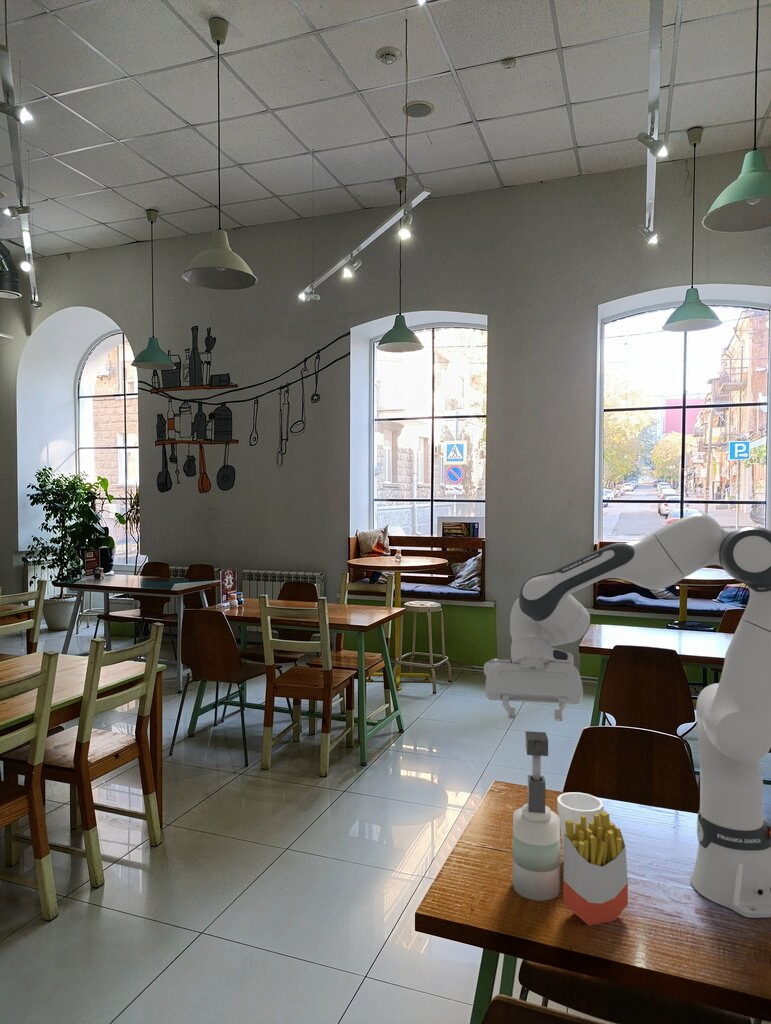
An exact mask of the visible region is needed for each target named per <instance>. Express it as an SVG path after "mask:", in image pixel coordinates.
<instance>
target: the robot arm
mask: <svg viewBox="0 0 771 1024" xmlns="http://www.w3.org/2000/svg"><path fill="white" fill-rule="evenodd" d="M707 566H719V568H722V569H723V570H724V571H725V572H726V573H727V574H728V575H729V576H730V577H731V578H733V579H735V580H736V581H739V582H741V583H743V584H744V585H745V586H747V588H748V590H749V591H748V592H749V597H748V602H747V605H746V606H745V609H744V611H743V614H742V615H741V617H740V621H739V622H738V625H737V627H736V629H735V632H734V633H733V636H732V639H731V640H730V643H729V645H728V647H727V649H726V651H725V655H724V661H723V667H722V672H721V674H720V680H719V682H718V683H717V682H716V683H712V684H711V683H710V684H709V685H707V686H705V687H704V688H703V689H702V690H701V691H700V692H699V694H698V696H697V700H696V704H695V705H696V706H695V707H696V708H695V712H696V713H695V714H696V716H695V717H696V735H697V747H698V750H697V751H698V763H699V778H700V779H699V788H700V790H699V794H700V795H699V798H700V799H699V809H698V810H697V820H696V835H697V841H698V847H697V853H696V860H695V865H694V869H693V871H692V874H691V877H690V883H691V885H692V887H693V889H695V891H697V892H698V893H699V894H700V895H701V896H703V897H704V898H707V900H709V901H711V902H714V903H715V904H719V905H721V906H723V907H726V908H728V909H731V910H732V911H734V912H736V913H737V914H739V915H741V916H743V917H746V918H749V919H750V918H753V919H755V918H756V919H757V918H759V919H760V918H771V917H770V916H771V823H769V822H767V821H766V820H765V819H764V780H763V776H762V771H761V763H760V760H761V759H763V758H765V757H766V756H767V755H768V753H769V752H770V750H771V530H770V529H767V528H765V527H761V526H744V527H741V528H739V529H736V530H734V531H733V530H732V531H731V530H730V531H729V530H726V529H724V528H723V527H722V526H721V525H720V524H719V523H718V521H716V520H715V519H714V518H713V517H711V516H709V515H707V514H705V513H701V512H694V513H691V514H688V515H686V516H683V517H681V518H679V519H677V520H673V521H672V522H670V523H668V524H666V525H663V527H660V528H659V529H657V530H656V531H654V532H652V533H650V534H649V535H647V536H644V537H642V538H639V539H637V540H634V541H628V542H616V543H615V542H614V543H611V544H608V545H606V546H604V547H600V548H598V549H597V550H594V551H592V552H590V553H588V554H586V555H583V556H582V557H579V558H578V559H575V560H573V561H571V562H568V563H566V564H563V565H562V566H559V567H558V568H555V569H552V570H548V571H545V572H541V573H539V574H536V575H533V576H531V577H530V578H529V579H527V580H526V581H525V582H524V583H523V585H522V586H521V588H520V591H519V596H518V598H517V599H516V600H514V603H513V605H512V607H511V611H510V619H509V620H510V621H509V625H510V626H509V629H510V630H509V632H510V636H511V641H512V642H511V644H510V659H507V658H505V659H498V658H491V659H490V660H488V661H486V662H485V663H484V664H483V674H484V676H485V677H486V678H485V689H484V690H485V691H484V694H485V695H484V696H485V697H486V698H487V699H488V700H489V701H501V704H502V706H503V708H504V710H505V711H506V712H507V720H515V719H516V708H515V707H511V705H510V702H524V703H525V702H526V703H527V702H529V703H530V702H531V703H546V704H547V703H550V704H551V703H553V704H558V707H559V708H558V709H554V712H553V717H554V719H553V720H554V722H562V721H563V712H564V711H565V709H566V707H567V704H571V705H572V704H573V705H575V704H576V705H578V704H580V703H581V702H582V700H583V697H584V689H583V688H584V687H583V683H582V679H581V674H580V671H579V670H578V668H577V667H576V666H575V665H574V655H573V653H570V652H568V651H564V650H562V649H558V648H555V647H560V646H564V645H569V644H574V643H575V642H578V641H580V640H581V639H583V638H584V637H585V636H586V634H587V633H588V631H589V629H590V626H591V623H592V622H591V614H590V612H589V610H587V609H586V608H585V606H583V604H582V603H581V602H580V601H579V600H578V599H576V597H574V596H573V595H572V593H575V592H577V591H579V590H581V589H583V588H586V587H588V586H590V585H592V584H595V583H598V582H599V581H601V580H604V579H618V580H623V581H627V582H630V583H631V584H634V585H637V586H638V587H641V588H645V589H649V590H662V589H664V588H668V587H670V586H673V585H675V584H676V583H679V582H680V581H681V580H684V579H685V578H686V577H689V576H690V575H692V574H694V573H695V572H696V571H698V570H700V569H703V568H705V567H707Z"/></svg>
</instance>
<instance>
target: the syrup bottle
mask: <svg viewBox="0 0 771 1024" xmlns="http://www.w3.org/2000/svg"><path fill="white" fill-rule="evenodd" d="M560 833H561V827H560V818H559V814H558V813H556V812H554V811H552V809H551V807H549V806H548V805H546V780H545V776H544V775H541V781H532V774H528V775H527V803H525V804H523V805H522V806H521V807H519V808H517V809H515V810H514V812H513V814H512V856H511V857H512V888H513V890H514V891H515V893H517V894H518V895H520V896H521V897H523V898H526V899H528V900H532V901H537V902H538V901H540V902H542V901H543V902H544V901H545V902H546V901H550V900H553V899H555V898H557V897H558V896H559V895H560V866H561V835H560Z"/></svg>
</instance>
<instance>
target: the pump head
mask: <svg viewBox="0 0 771 1024" xmlns="http://www.w3.org/2000/svg"><path fill="white" fill-rule="evenodd" d="M524 734H525V738H524V739H525V742H524V743H525V744H524V745H525V751H526V756H532V762H531V763H532V767H531V768H532V771H531V772H532V773H531V775H532V781H541V776H542V775H541V770H542V769H541V767H542V766H541V765H542V763H541V762H542V759H541V757H548V756H549V738H548V736H547V732H545V731H544V732H543V731H527V730H526V731H525V733H524Z"/></svg>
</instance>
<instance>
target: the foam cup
mask: <svg viewBox="0 0 771 1024" xmlns="http://www.w3.org/2000/svg"><path fill="white" fill-rule="evenodd" d="M556 803H557V804H556V805H557V806H556V807H557V814H558V816H559V818H560V833H561V835H560V836H561V841H562V851H563V852H564V834H566V823H565V821H567V820H571V821H572V822H573V826H574V833H575V822H579V823H580V824H581V815H585V816H586V828H587V829H589V823H590V822H591V821H593V822H594V814H598V815H599V819H600V812H604V806H605V805H604V802H603V800H601V799H600V798H599V797H597V796H594V795H592V794H590V793H584V792H578V791H576V792H572V791H571V792H565V793H562V794H560V795H559V796H557V802H556ZM600 826H601V825H600Z"/></svg>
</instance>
